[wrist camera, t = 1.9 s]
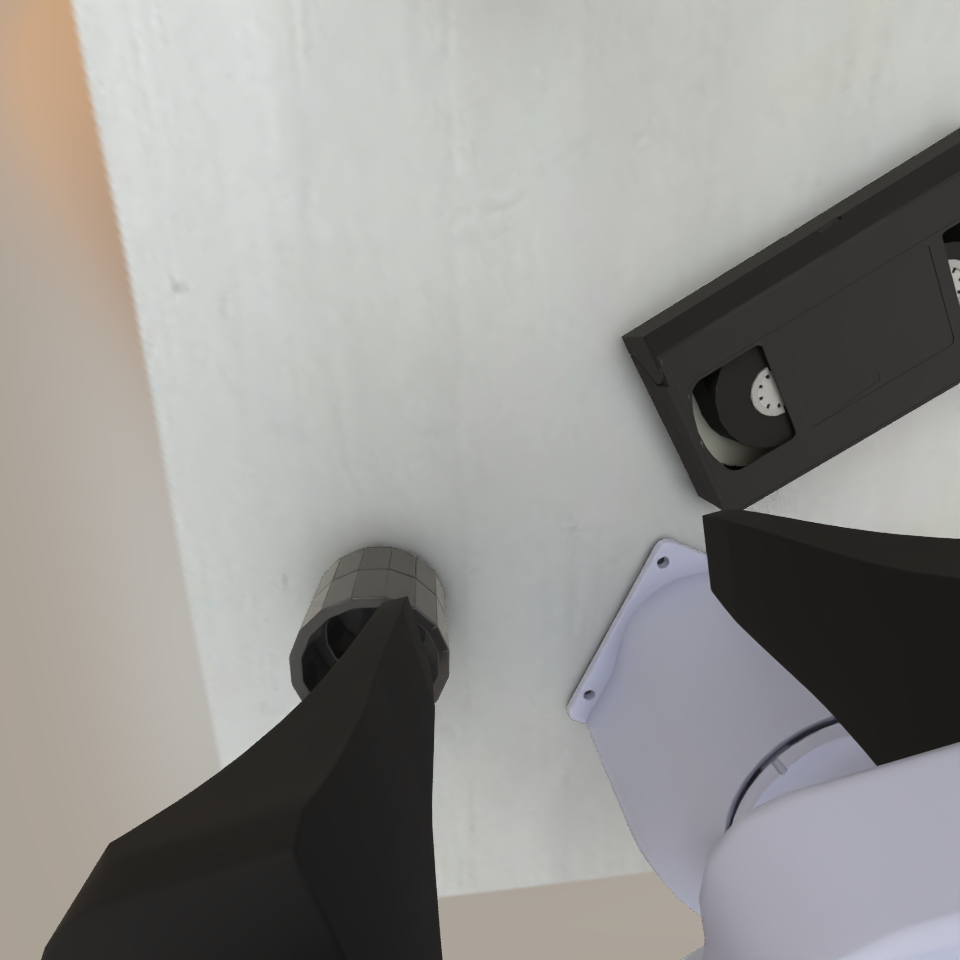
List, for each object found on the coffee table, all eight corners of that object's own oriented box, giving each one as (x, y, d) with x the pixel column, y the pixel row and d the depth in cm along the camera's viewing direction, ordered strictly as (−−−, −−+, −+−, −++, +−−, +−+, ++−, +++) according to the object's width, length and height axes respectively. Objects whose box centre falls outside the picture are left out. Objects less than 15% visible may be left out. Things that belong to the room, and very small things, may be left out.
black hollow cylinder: (417, 667, 22) (415, 748, 18) (300, 632, 21) (268, 709, 17) (463, 566, 21) (473, 626, 17) (343, 523, 20) (320, 576, 16)
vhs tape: (701, 502, 21) (728, 519, 19) (621, 336, 19) (643, 336, 17) (1007, 322, 20) (1067, 321, 18) (962, 126, 18) (1025, 101, 16)
